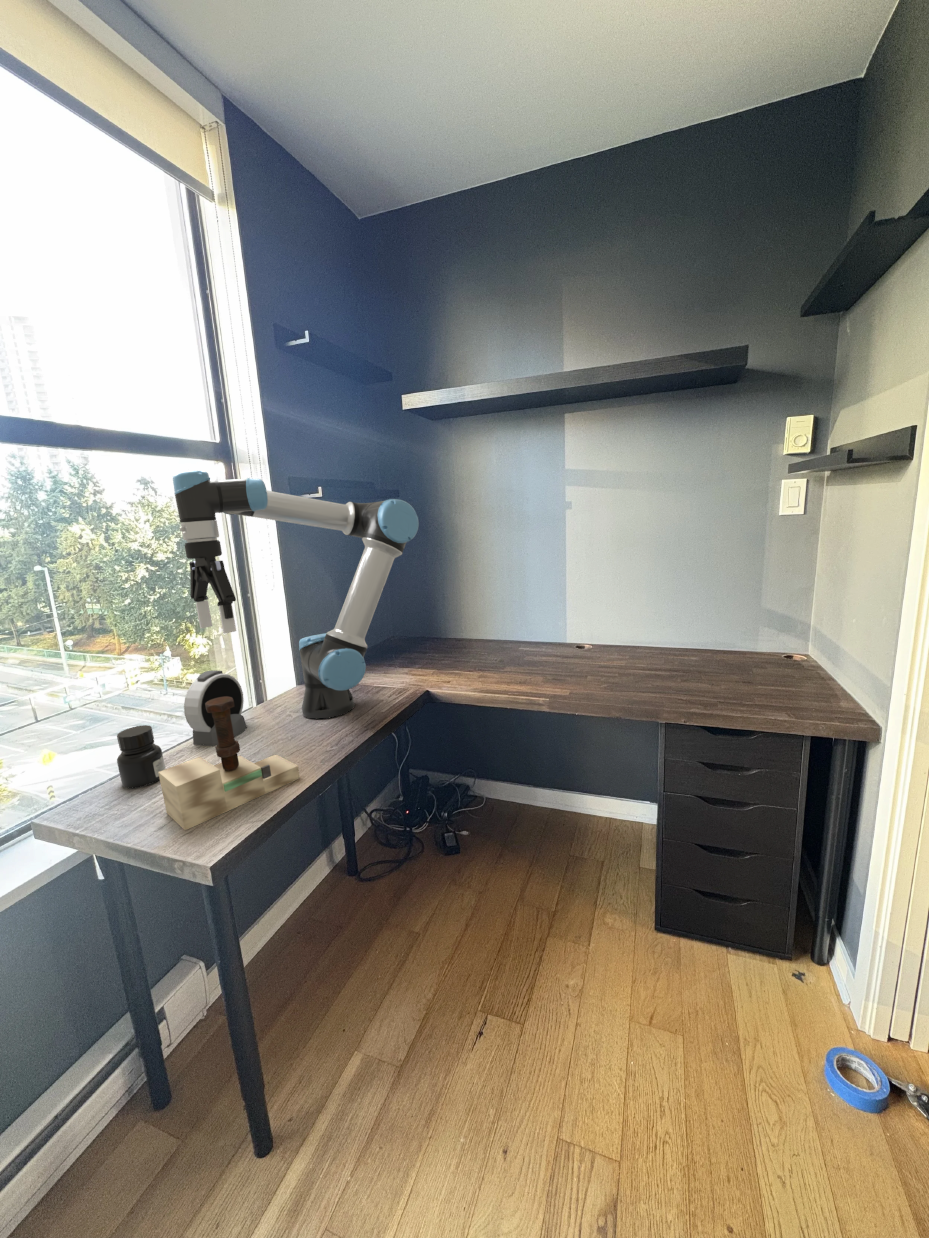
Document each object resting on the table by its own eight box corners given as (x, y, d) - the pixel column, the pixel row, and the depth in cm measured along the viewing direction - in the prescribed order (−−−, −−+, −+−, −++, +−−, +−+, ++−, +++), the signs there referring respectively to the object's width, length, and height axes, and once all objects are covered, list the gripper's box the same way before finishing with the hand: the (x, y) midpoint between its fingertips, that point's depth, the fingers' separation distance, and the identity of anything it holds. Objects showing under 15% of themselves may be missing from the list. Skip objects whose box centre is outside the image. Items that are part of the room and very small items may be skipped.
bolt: (249, 761, 113) (238, 695, 110) (240, 773, 108) (228, 703, 105) (222, 764, 113) (210, 697, 110) (212, 775, 108) (198, 706, 105)
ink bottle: (171, 779, 122) (161, 730, 119) (127, 794, 116) (115, 743, 114) (161, 766, 129) (151, 720, 126) (118, 780, 123) (107, 732, 121)
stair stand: (277, 766, 123) (271, 730, 122) (301, 779, 116) (295, 740, 114) (166, 813, 107) (158, 771, 105) (186, 831, 99) (177, 787, 98)
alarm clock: (213, 749, 136) (200, 682, 133) (182, 747, 140) (169, 680, 136) (256, 724, 151) (245, 663, 148) (227, 722, 154) (217, 662, 151)
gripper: (165, 543, 128) (182, 628, 133) (206, 540, 111) (223, 638, 116) (197, 540, 134) (212, 622, 138) (241, 537, 117) (256, 630, 121)
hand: (217, 629), depth 127 cm, fingers open, 13 cm apart
